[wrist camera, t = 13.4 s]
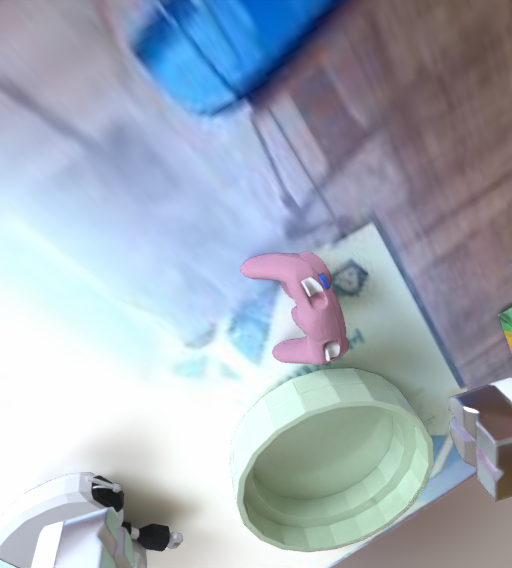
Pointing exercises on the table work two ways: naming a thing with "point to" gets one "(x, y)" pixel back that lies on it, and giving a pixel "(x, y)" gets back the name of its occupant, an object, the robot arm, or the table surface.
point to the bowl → (328, 460)
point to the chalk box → (507, 326)
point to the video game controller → (305, 306)
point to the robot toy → (68, 504)
